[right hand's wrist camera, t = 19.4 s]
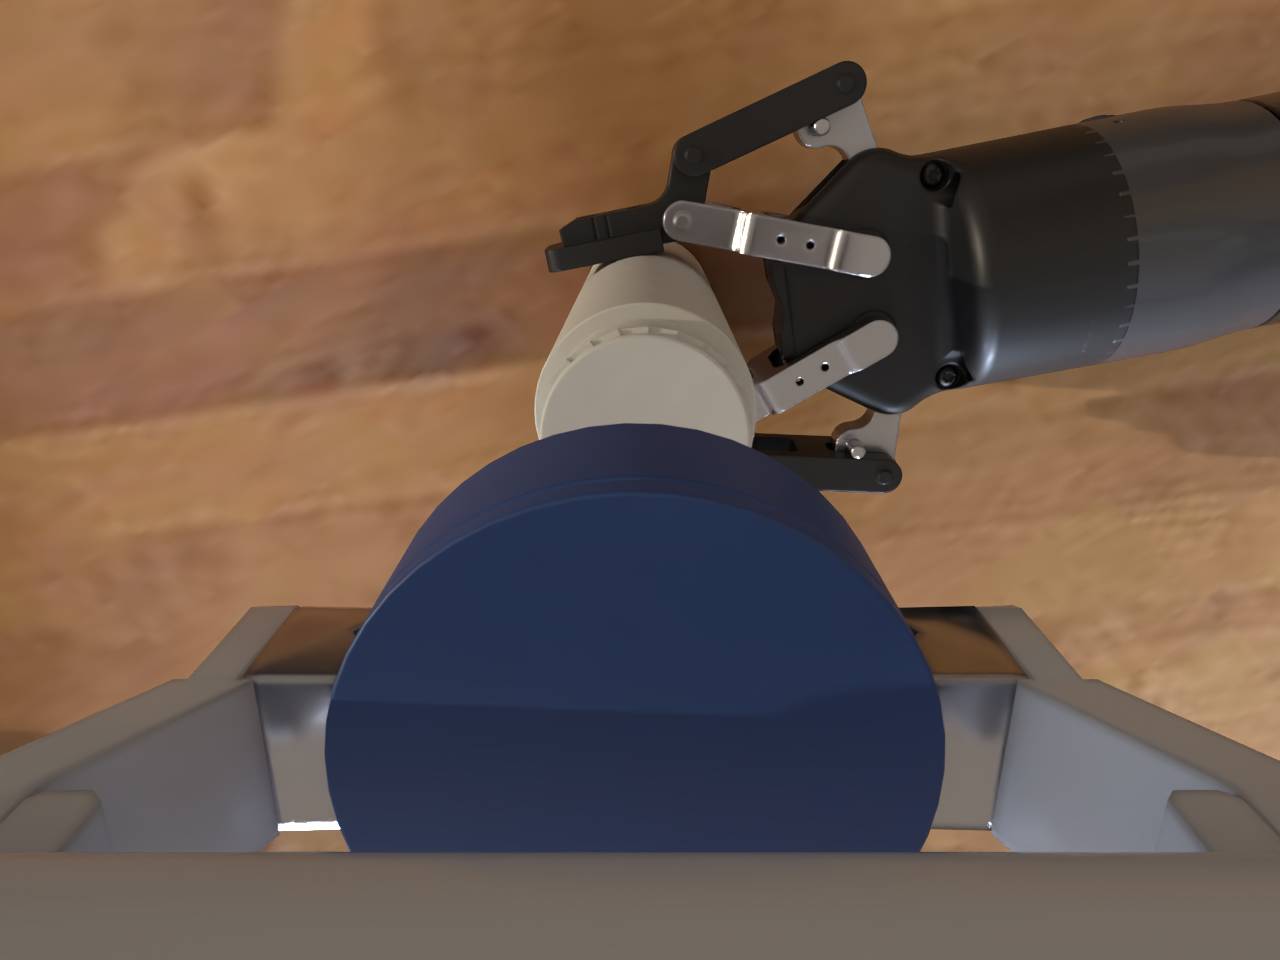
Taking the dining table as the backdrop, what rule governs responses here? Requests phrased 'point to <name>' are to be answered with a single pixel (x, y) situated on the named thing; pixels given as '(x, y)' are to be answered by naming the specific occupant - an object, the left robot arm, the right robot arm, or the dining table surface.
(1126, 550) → the dining table surface
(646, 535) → the lid
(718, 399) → the white bottle
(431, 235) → the dining table surface
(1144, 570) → the dining table surface
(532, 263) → the dining table surface
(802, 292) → the left robot arm
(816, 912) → the right robot arm
